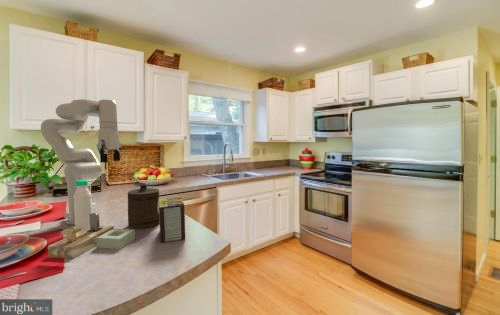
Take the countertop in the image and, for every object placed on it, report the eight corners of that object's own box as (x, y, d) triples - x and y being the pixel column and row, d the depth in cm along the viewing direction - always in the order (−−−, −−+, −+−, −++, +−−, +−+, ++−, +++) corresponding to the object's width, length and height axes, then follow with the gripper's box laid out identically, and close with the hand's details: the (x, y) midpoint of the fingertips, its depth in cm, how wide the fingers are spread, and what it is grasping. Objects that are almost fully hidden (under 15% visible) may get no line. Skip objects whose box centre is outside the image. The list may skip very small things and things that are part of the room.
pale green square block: (97, 250, 97) (96, 237, 97) (113, 239, 107) (113, 228, 107) (120, 251, 96) (120, 238, 96) (135, 240, 106) (134, 229, 106)
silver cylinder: (88, 240, 104) (87, 214, 104) (94, 237, 108) (93, 212, 107) (96, 240, 104) (94, 215, 103) (102, 237, 107) (100, 212, 107)
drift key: (61, 245, 92) (60, 231, 91) (71, 241, 96) (70, 227, 96) (72, 246, 91) (71, 232, 91) (81, 241, 96) (81, 228, 95)
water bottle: (74, 237, 110) (70, 182, 109) (76, 232, 117) (73, 180, 115) (92, 234, 114) (89, 180, 112) (94, 229, 120) (91, 178, 118)
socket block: (48, 259, 90) (47, 246, 89) (93, 236, 111) (92, 225, 111) (73, 260, 88) (72, 247, 88) (114, 237, 110) (113, 226, 110)
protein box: (182, 228, 121) (181, 197, 120) (185, 239, 107) (184, 204, 106) (159, 230, 118) (158, 198, 117) (160, 243, 103) (158, 207, 102)
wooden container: (166, 224, 127) (165, 182, 125) (139, 233, 114) (137, 187, 113) (148, 219, 135) (147, 179, 133) (122, 227, 122) (120, 184, 121)
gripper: (112, 127, 127) (114, 160, 128) (88, 125, 110) (90, 163, 111) (126, 127, 127) (128, 160, 128) (104, 124, 110) (106, 162, 111)
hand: (110, 161), depth 119 cm, fingers open, 9 cm apart
